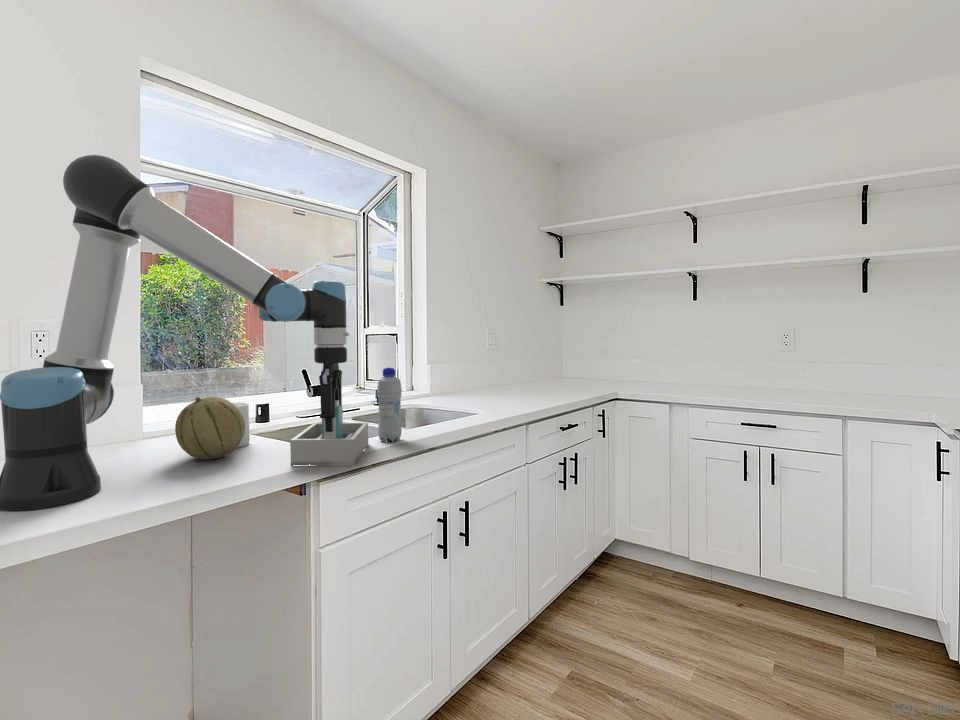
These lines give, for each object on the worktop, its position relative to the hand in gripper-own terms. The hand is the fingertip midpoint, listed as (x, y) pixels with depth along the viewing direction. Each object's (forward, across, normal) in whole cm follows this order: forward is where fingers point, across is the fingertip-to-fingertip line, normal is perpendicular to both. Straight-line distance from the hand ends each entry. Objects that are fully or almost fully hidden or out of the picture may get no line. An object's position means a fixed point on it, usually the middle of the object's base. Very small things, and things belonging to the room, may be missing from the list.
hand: (332, 442), depth 127 cm
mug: (+3, +10, +30) cm, 32 cm away
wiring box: (+3, 0, 0) cm, 3 cm away
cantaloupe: (+3, -2, +28) cm, 28 cm away
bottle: (+3, +16, -12) cm, 20 cm away
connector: (+1, 0, 0) cm, 1 cm away
